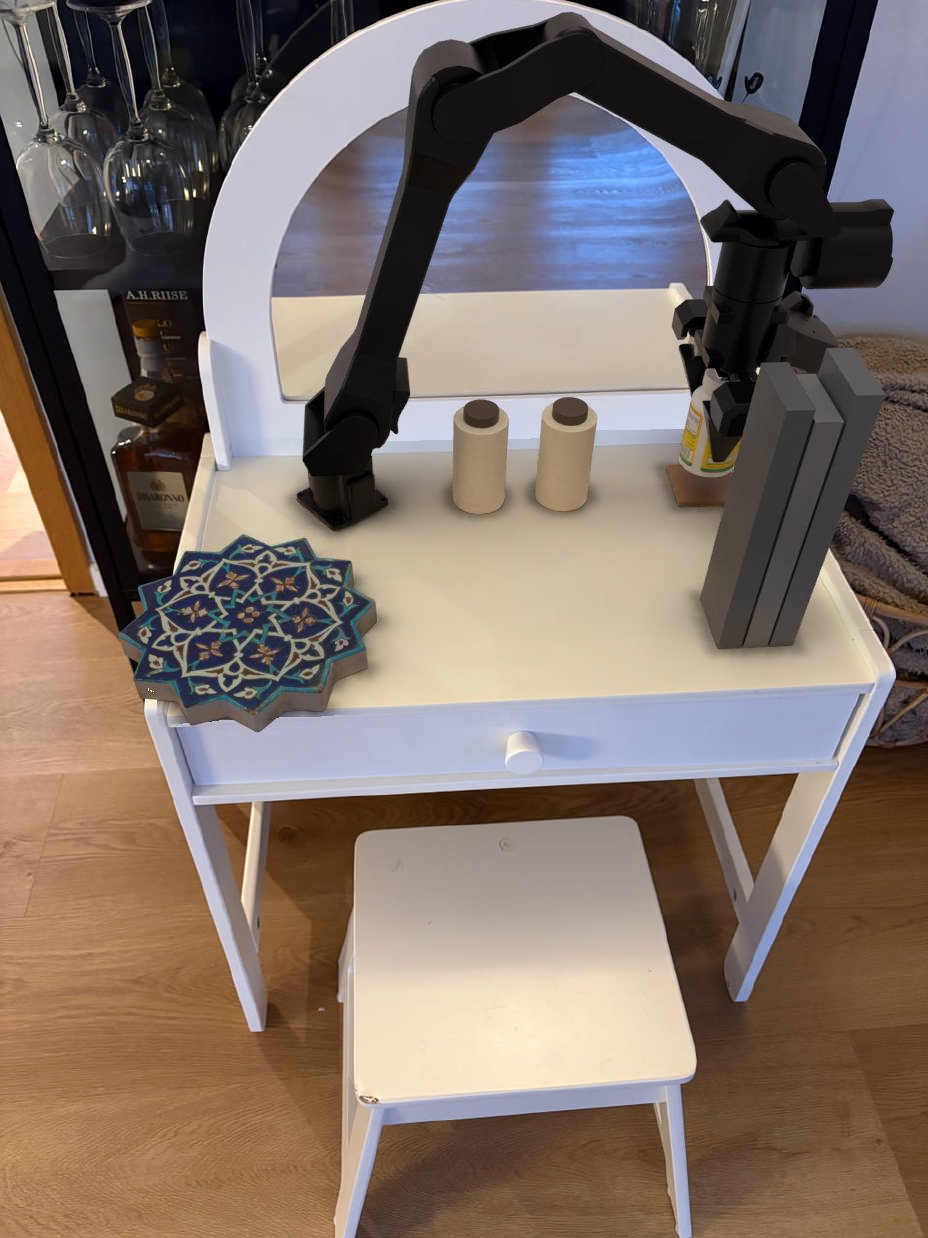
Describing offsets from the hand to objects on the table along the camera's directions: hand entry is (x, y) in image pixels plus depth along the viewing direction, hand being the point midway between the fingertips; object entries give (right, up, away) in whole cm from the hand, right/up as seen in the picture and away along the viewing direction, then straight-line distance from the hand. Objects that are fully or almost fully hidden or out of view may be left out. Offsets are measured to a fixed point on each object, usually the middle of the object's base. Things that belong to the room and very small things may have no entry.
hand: (710, 443), depth 92 cm
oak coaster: (0, -4, +4) cm, 5 cm away
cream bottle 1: (-22, -5, +2) cm, 22 cm away
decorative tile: (-41, -18, -11) cm, 46 cm away
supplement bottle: (0, -2, +2) cm, 2 cm away
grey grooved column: (+1, -17, -9) cm, 19 cm away
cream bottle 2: (-14, -5, +2) cm, 15 cm away
